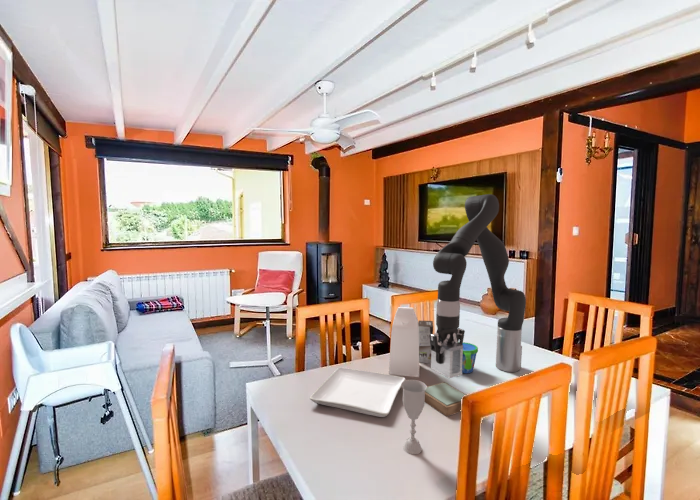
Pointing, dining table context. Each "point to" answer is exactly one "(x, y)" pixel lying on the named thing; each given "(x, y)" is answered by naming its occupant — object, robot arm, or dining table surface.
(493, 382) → the dining table surface
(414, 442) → the chalice
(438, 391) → the wooden tray
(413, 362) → the milk
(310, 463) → the dining table surface
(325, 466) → the dining table surface
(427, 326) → the coffee box
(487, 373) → the dining table surface
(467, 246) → the robot arm
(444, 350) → the housing
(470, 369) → the snack cup
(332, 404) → the square plate
